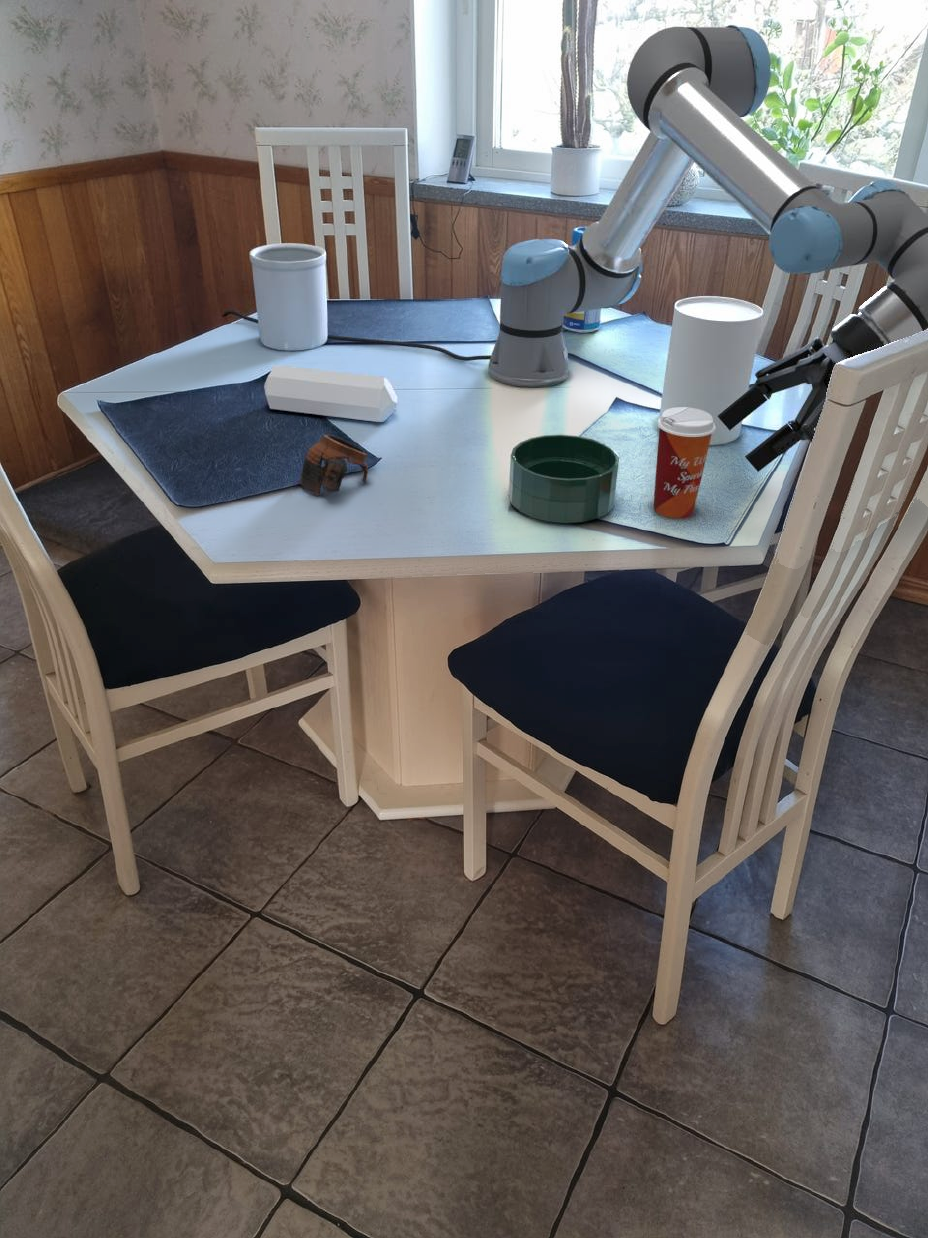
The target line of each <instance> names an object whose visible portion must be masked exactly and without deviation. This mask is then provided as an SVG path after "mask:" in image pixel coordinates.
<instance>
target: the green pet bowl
mask: <svg viewBox="0 0 928 1238" xmlns="http://www.w3.org/2000/svg"><path fill="white" fill-rule="evenodd" d="M509 459H510V461H509V484H508V498H509V501H510V503H511V505H512V506H513V507H514V508H515V509H516V510H517V511H519V512H520V513H522V514H524V515H526V516H529V517H531V518H533V519H536V520H541V521H546V522H548V523H549V522H550V523H560V524H574V523H584V522H588V521H592V520H597V519H599V518H602V517H603V516H605V515H607V514H609V512H610V511H611V510H612V509H613V508H614V507H615V506H614V505H615V499H616V489H617V482H618V473H619V463H620V456H619V455H618V454H617V452H616V450H614V449H613V448H612V447H610V446H608V445H607V444H605V443H603V442H601V441H598V440H595V439H593V438H588V437H584V436H579V435H571V434H570V435H568V434H547V435H539V436H535V437H530V438H528V439H526V440H523V441H521V442H519V443H518V444H516V445H515V446H513V447H512V449H511V453H510V458H509Z"/></svg>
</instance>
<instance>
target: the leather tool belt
mask: <svg viewBox="0 0 928 1238" xmlns="http://www.w3.org/2000/svg"><path fill="white" fill-rule="evenodd" d="M368 454H369V453H368V452H366V451H365V450H364V449H362V448H361V447H359V446H357V445H354V444H353V443H351V442H349V441H346V440H344V439H342V438H339V437H338V436H334V435H331V434H326V433H323V434H322V435H321V439H320V441H318V442H316V443H315V444H312V446H311V447H309V449H308V451H307V452H306V456H305V458H304V460H303V464H302V469H301V471H300V482H299V484H300V486H301V487H302V489H305V490H306V491H307V492H309V493H311V494H313V495H315V496H320V494H321V489H323V490H324V491H326V492H327V493H336V492H339V491H340V488H341V486H342V483H343V479H344V478H345V476H346V473H347V471H348V465H347V464H348V463H351V464H354V465H358V466H359V467H360V469H361V470H362V471H363V475H362V478H361V479H362V482H363V483H365V482H367V478H368V474H369V468H368V464H367V460H366V459H367V458H368V456H369V455H368ZM346 460H347V461H346ZM323 461H324V465H322V463H323Z"/></svg>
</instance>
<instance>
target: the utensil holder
mask: <svg viewBox="0 0 928 1238" xmlns="http://www.w3.org/2000/svg"><path fill="white" fill-rule="evenodd" d="M249 261H250V263H251V268H252V279H253V288H254V296H255V305H256V316H257V319H258V323H257V324H258V330H259V339H260V342H261V344H262V345H263V346H265V347H267V348H269V349H273V350H279V351H288V352H289V351H290V352H291V351H293V352H294V351H295V352H296V351H307V350H311V349H316V348H319V347H322V346H323V345H325V344H326V343H327V342H328V339H327V335H328V301H327V300H328V299H327V298H328V297H327V278H326V277H327V275H326V273H327V272H326V261H327V252H326V250H325V248H322V247H320V246H317V245H316V246H315V245H313V244H306V243H296V242H295V243H294V242H293V243H291V242H290V243H287V242H285V243H283V242H282V243H272V244H271V243H270V244H265V245H261V246H258V247H254V248H252V249H251V250H250V251H249Z"/></svg>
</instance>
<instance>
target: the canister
mask: <svg viewBox="0 0 928 1238" xmlns="http://www.w3.org/2000/svg"><path fill="white" fill-rule="evenodd" d="M672 315H673V316H672V323H671V330H670V335H669V336H670V337H669V344H668V351H667V359H666V365H665V373H664V380H663V387H662V395H661V401H660V409H659V417H658V420H659V419H660V418H661V416H662V414H663V412H664V411H665V410H667V409H670V408H675V407H690V408H695V409H700V410H703V411H705V412H707V413H709V414H710V415H711V416H712V418H713V422H714V424H715V427H716V428H715V431H714V432H713V433H712V436H711V440H710V444H709V446H718V445H723V444H724V445H725V444H728V443H731V442H733V441H736V440H737V439H738V438H739V437H740V435H741V430H742V425H743V420H742V421H741V422H740V423H738V424H737V425H736V426H735V427H734V428H732V429H731V430H729V429H728V428H727V427H726V426H725V425H724V423H723V422H722V421H721V420H720V419H719V418H718V415H719V414H720V413H722V412H723V411H724V410H725V409H726V408H728V407H729V406H730V405H731V404H733V403H734V402H735V401H736V400H737V399H739V398H740V397H741V396H742V395H744V394H745V393H746V392H747V391H748V390H750V388H749V387H750V384H751V378H752V373H753V367H754V363H755V357H756V352H757V347H758V342H759V336H760V331H761V326H762V320H763V315H764V310H763V308H762V307H760V306H759V305H757V304H755V303H753V302H750V301H747V300H743V299H738V298H734V297H725V296H716V295H715V296H714V295H703V296H701V295H700V296H691V297H686V298H682V299H679V300H677V301H676V302H675V304H674V307H673V314H672ZM657 427H658V429H659V426H658V425H657Z"/></svg>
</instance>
